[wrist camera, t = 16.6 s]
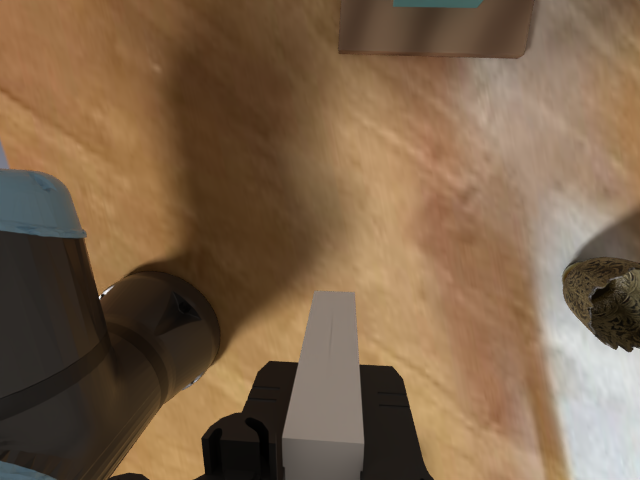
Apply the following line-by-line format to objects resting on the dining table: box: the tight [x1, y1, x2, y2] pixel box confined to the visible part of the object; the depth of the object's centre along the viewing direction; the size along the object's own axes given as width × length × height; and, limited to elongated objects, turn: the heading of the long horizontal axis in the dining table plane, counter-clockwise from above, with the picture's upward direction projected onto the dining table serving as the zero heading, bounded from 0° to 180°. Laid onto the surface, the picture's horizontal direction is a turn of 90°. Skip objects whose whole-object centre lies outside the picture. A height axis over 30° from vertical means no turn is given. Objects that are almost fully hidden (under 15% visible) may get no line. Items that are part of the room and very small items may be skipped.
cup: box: [562, 257, 640, 352], centre depth 30 cm, size 8×7×8 cm
